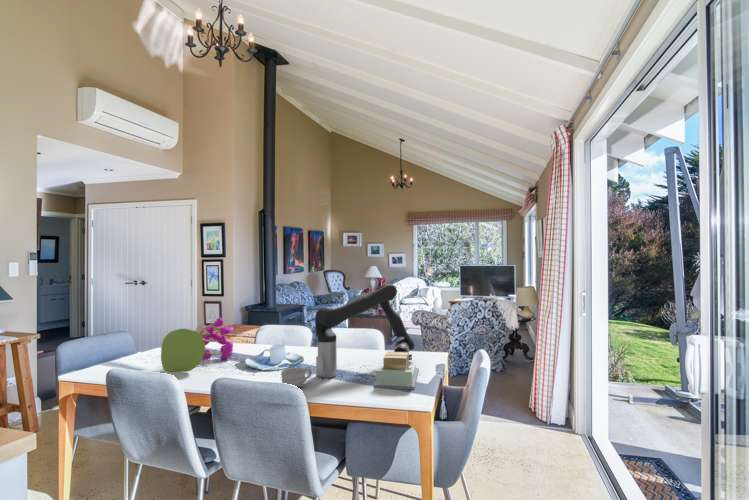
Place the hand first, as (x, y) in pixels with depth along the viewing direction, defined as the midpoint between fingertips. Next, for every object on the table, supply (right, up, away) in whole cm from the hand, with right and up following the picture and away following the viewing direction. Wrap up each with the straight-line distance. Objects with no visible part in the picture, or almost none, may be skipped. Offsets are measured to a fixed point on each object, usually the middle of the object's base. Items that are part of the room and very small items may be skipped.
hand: (397, 361), depth 206 cm
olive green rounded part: (-107, -9, +32) cm, 112 cm away
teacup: (-46, -9, -12) cm, 49 cm away
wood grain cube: (-1, -6, -6) cm, 9 cm away
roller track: (0, -8, -1) cm, 8 cm away
